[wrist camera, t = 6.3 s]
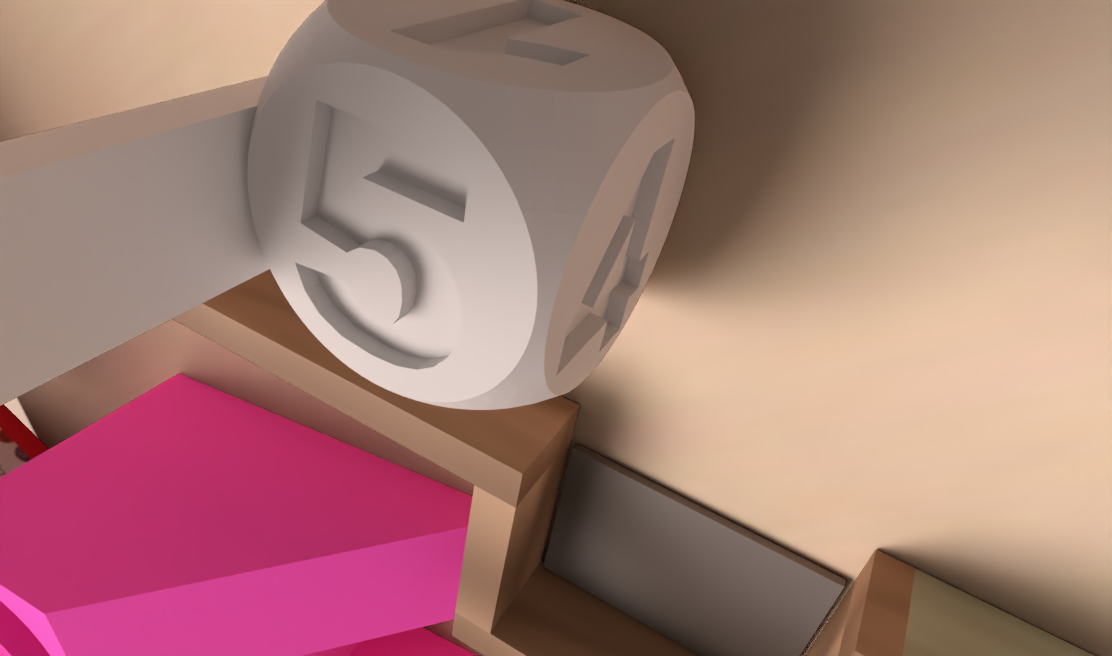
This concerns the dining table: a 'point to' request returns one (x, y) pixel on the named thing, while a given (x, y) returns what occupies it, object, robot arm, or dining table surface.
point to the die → (467, 189)
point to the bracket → (223, 539)
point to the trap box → (613, 535)
